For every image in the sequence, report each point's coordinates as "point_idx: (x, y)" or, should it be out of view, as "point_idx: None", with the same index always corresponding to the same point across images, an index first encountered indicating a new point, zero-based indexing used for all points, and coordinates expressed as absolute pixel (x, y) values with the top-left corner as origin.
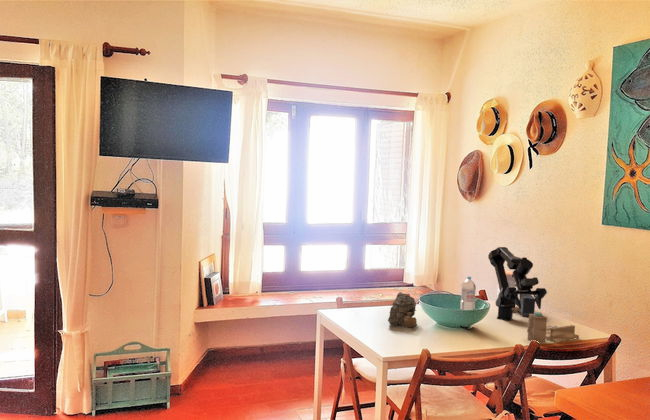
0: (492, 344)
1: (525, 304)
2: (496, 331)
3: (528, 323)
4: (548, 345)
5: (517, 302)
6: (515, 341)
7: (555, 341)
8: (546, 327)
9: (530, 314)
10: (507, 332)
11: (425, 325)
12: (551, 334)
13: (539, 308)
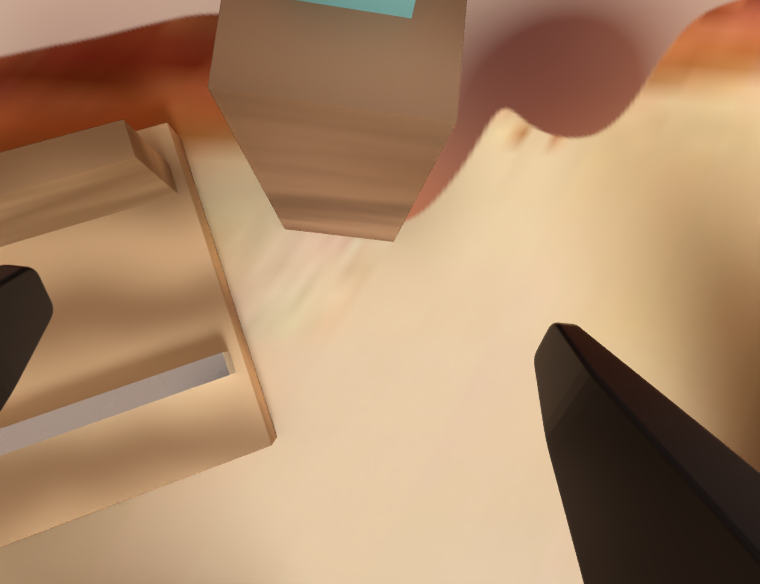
0: (746, 142)
1: None
2: None
3: (419, 191)
4: None
5: (704, 460)
6: (531, 194)
7: (176, 137)
8: (23, 442)
9: (458, 71)
10: (484, 432)
11: None
12: (161, 170)
13: (41, 291)
